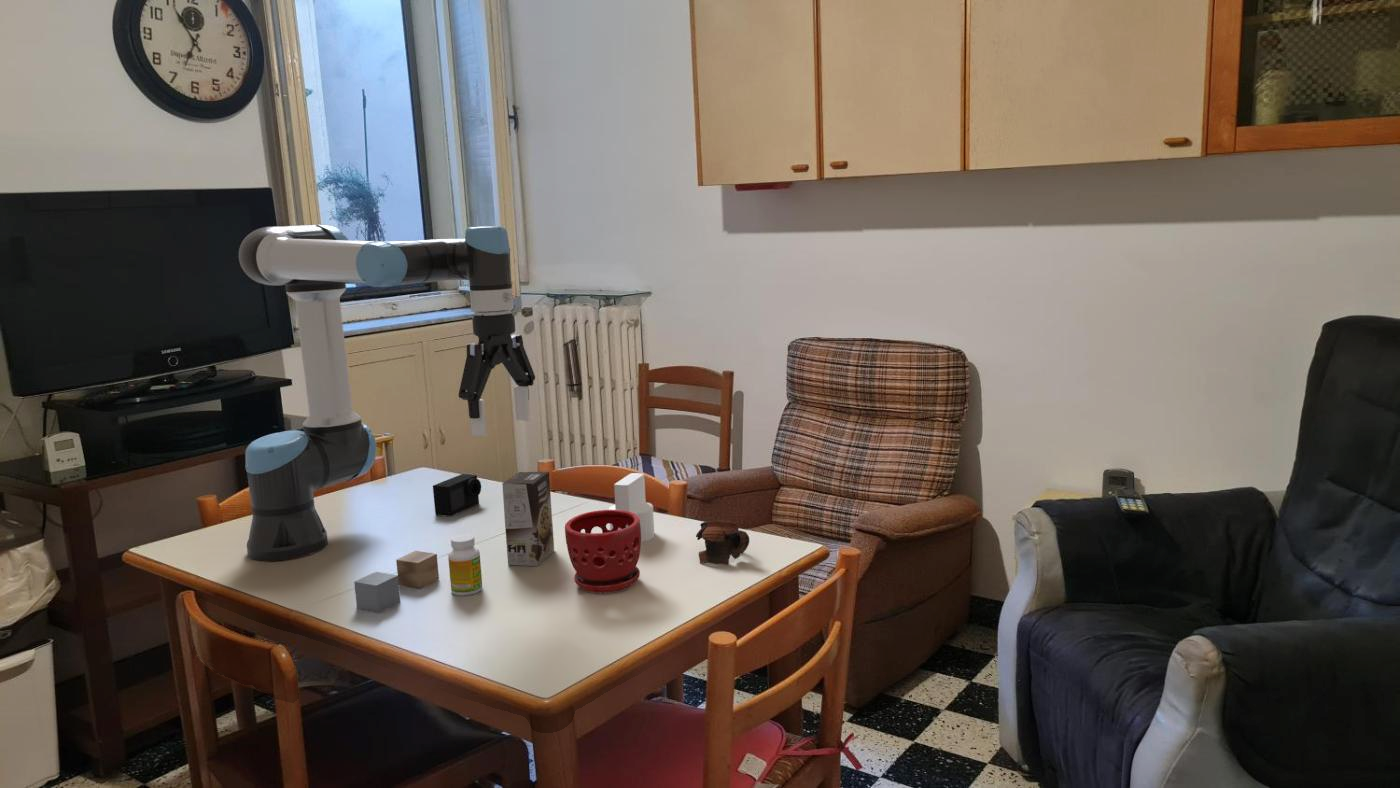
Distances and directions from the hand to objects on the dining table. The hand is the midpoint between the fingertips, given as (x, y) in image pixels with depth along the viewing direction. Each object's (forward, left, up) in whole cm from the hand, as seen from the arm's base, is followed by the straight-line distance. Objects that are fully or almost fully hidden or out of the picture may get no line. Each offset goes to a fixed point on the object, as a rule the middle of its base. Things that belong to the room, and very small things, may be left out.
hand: (502, 427), depth 177 cm
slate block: (-10, -25, -26) cm, 38 cm away
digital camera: (-34, +25, -27) cm, 50 cm away
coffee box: (+1, +4, -27) cm, 27 cm away
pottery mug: (+36, +17, -27) cm, 48 cm away
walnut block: (-11, -14, -26) cm, 32 cm away
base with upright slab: (+13, +22, -27) cm, 37 cm away
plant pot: (+22, -3, -27) cm, 35 cm away
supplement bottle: (0, -14, -27) cm, 30 cm away
